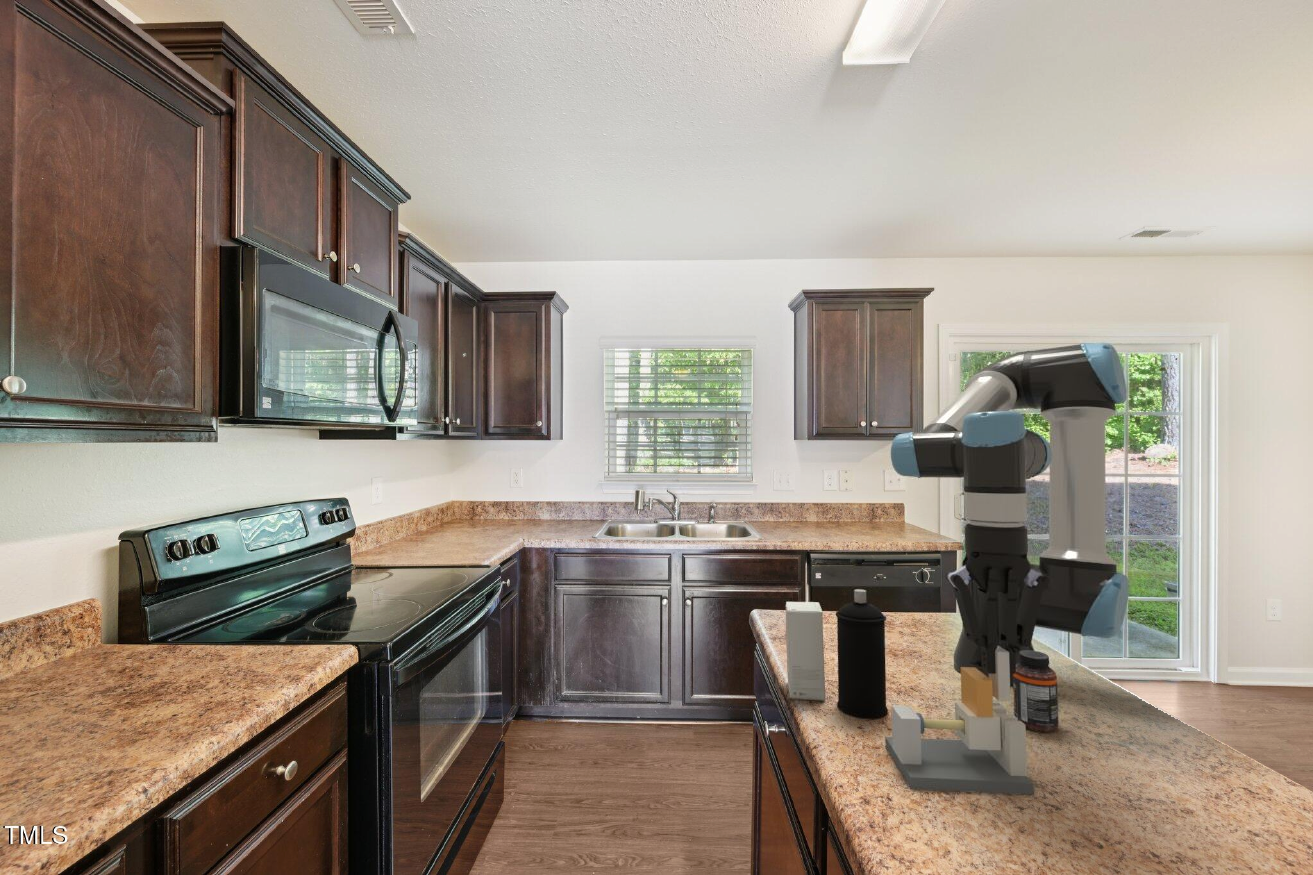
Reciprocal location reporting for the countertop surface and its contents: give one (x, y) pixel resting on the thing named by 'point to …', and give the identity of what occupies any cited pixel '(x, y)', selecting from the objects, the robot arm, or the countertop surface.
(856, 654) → the aerosol can
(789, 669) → the skincare box
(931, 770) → the cord board
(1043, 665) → the supplement bottle
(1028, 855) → the countertop surface
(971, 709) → the sleeve
